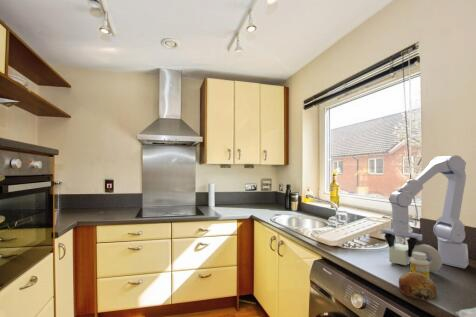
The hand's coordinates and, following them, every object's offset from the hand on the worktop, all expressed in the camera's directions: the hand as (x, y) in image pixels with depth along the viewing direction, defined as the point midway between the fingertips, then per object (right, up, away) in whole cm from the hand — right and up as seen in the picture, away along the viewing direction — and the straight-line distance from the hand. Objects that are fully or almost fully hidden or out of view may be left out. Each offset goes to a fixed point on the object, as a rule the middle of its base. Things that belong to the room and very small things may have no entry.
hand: (401, 254), depth 107 cm
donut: (+4, -4, -8) cm, 10 cm away
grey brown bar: (+10, -4, +9) cm, 14 cm away
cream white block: (0, -2, 0) cm, 2 cm away
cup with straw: (+11, -4, +16) cm, 20 cm away
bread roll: (-11, -3, -26) cm, 28 cm away
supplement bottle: (-4, -3, -17) cm, 18 cm away
